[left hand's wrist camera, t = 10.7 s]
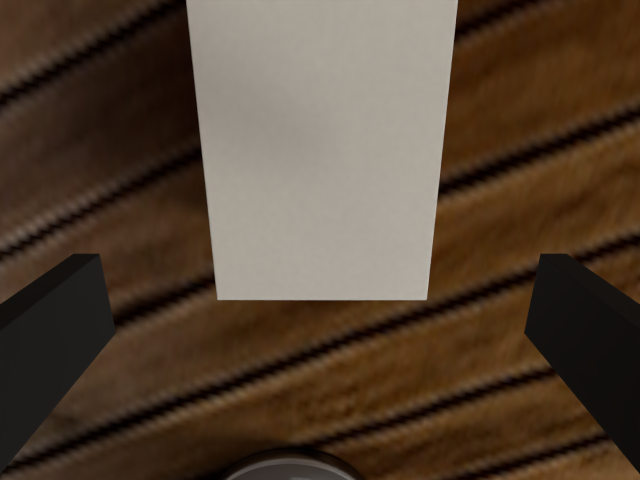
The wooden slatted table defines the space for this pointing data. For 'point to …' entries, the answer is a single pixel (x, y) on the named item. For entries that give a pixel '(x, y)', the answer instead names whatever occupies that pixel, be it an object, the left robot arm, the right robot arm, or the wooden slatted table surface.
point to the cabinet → (321, 143)
